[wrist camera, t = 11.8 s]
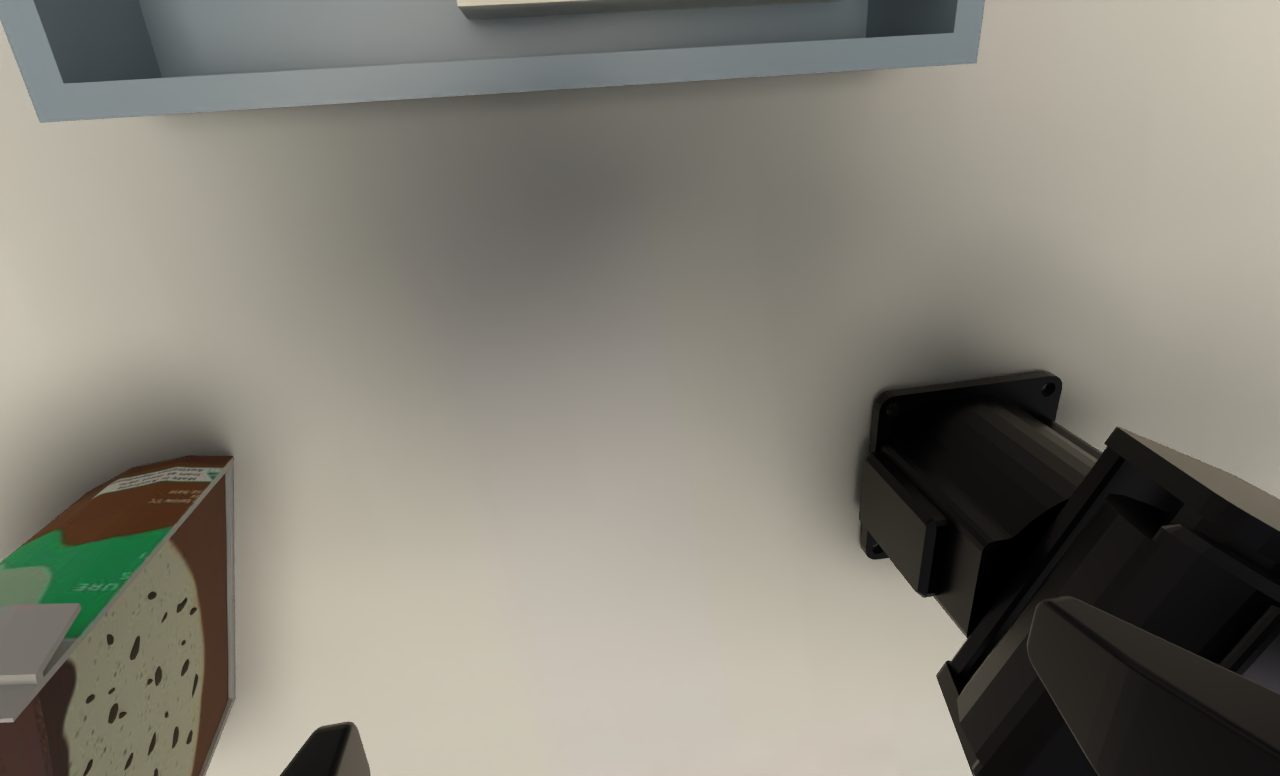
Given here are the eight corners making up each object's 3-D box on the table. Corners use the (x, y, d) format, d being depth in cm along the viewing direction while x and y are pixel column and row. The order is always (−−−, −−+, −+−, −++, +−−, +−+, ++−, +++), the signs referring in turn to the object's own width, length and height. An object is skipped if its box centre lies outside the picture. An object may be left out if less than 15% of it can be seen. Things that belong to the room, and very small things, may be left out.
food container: (-28, 382, 18) (-537, 684, 9) (232, 409, 20) (8, 693, 11) (27, 728, 23) (-281, 1153, 14) (236, 729, 24) (79, 1114, 15)
